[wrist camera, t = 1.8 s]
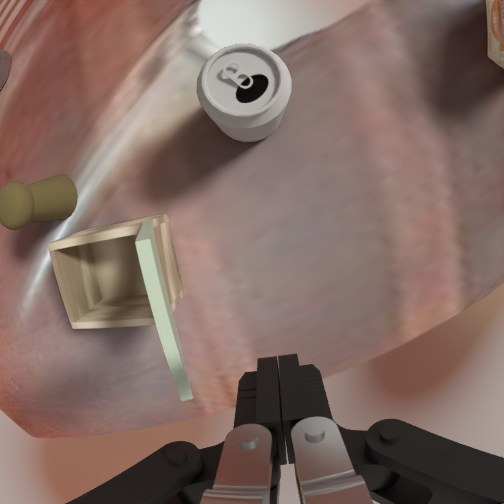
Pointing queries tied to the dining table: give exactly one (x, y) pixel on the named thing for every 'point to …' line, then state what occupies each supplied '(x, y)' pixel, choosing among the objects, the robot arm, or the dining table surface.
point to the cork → (37, 201)
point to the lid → (162, 307)
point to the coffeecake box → (495, 30)
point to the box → (112, 274)
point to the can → (244, 91)
